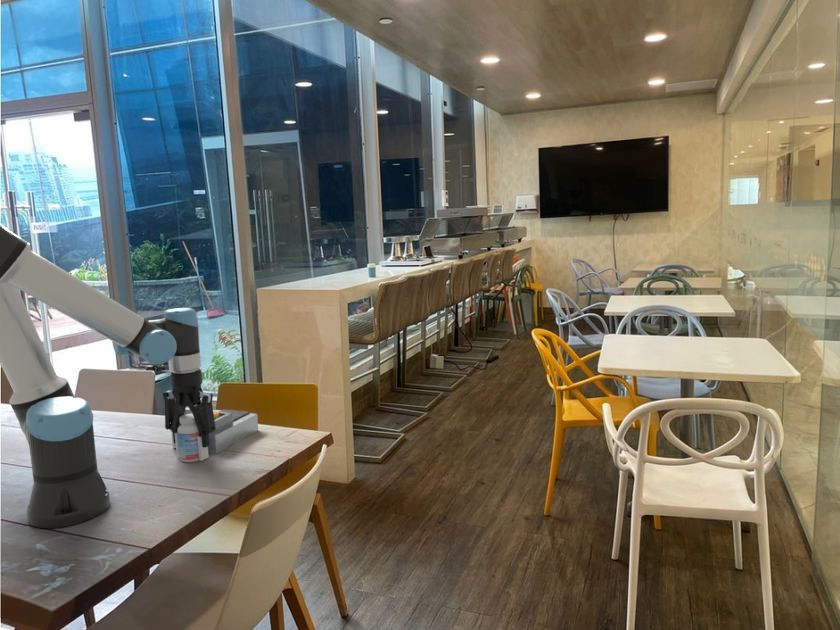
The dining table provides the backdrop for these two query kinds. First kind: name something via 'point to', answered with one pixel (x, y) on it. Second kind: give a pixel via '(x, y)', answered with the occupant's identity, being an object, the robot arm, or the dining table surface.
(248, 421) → the stepped grey tray base
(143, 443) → the dining table surface
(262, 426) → the dining table surface
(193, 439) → the pill bottle
